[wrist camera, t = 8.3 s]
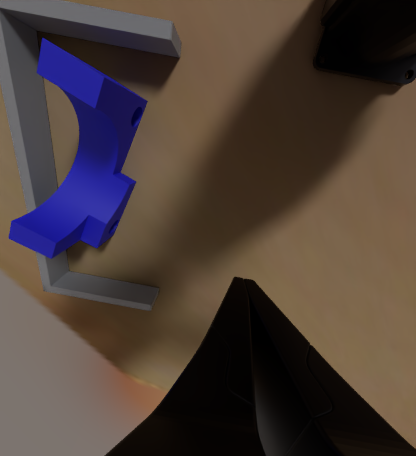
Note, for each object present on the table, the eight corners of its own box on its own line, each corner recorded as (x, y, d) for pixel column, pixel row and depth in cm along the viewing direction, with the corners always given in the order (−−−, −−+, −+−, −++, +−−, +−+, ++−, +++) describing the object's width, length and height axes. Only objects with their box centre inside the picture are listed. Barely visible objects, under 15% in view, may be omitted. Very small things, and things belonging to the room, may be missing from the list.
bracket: (181, 42, 13) (172, 21, 11) (158, 293, 22) (150, 311, 20) (22, 12, 13) (-20, -16, 11) (62, 275, 22) (43, 290, 20)
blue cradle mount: (114, 233, 20) (71, 268, 14) (71, 211, 19) (8, 238, 13) (166, 113, 15) (133, 95, 10) (111, 78, 14) (42, 37, 9)
